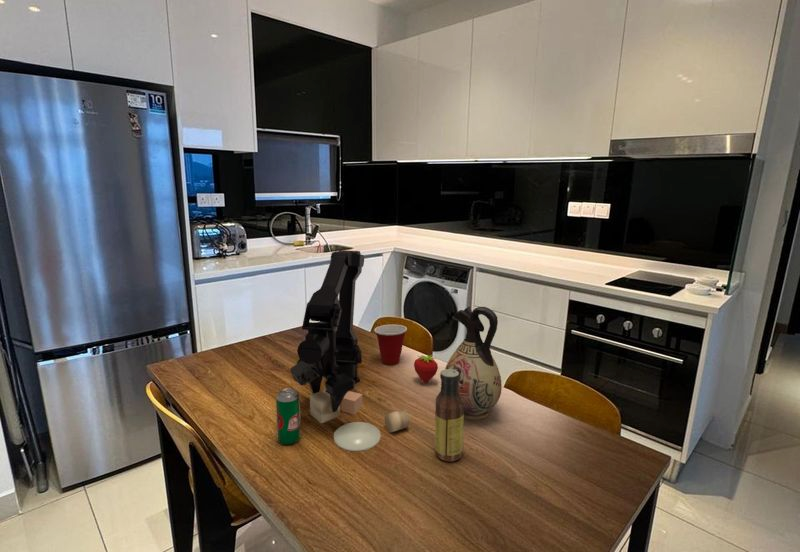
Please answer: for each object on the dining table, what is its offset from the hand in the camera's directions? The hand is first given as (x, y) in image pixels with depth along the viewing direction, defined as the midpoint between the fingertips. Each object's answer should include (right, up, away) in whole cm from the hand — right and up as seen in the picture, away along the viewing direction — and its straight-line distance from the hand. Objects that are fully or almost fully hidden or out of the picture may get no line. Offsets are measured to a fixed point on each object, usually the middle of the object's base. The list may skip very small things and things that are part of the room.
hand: (325, 403), depth 109 cm
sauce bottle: (+30, -7, -14) cm, 34 cm away
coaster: (+9, -5, -8) cm, 13 cm away
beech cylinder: (+17, -3, -6) cm, 18 cm away
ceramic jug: (+38, -4, +4) cm, 39 cm away
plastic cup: (+16, +4, +33) cm, 37 cm away
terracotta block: (+7, -3, +4) cm, 8 cm away
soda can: (-7, -6, -10) cm, 13 cm away
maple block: (0, -3, +1) cm, 3 cm away
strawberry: (+27, 0, +20) cm, 33 cm away
